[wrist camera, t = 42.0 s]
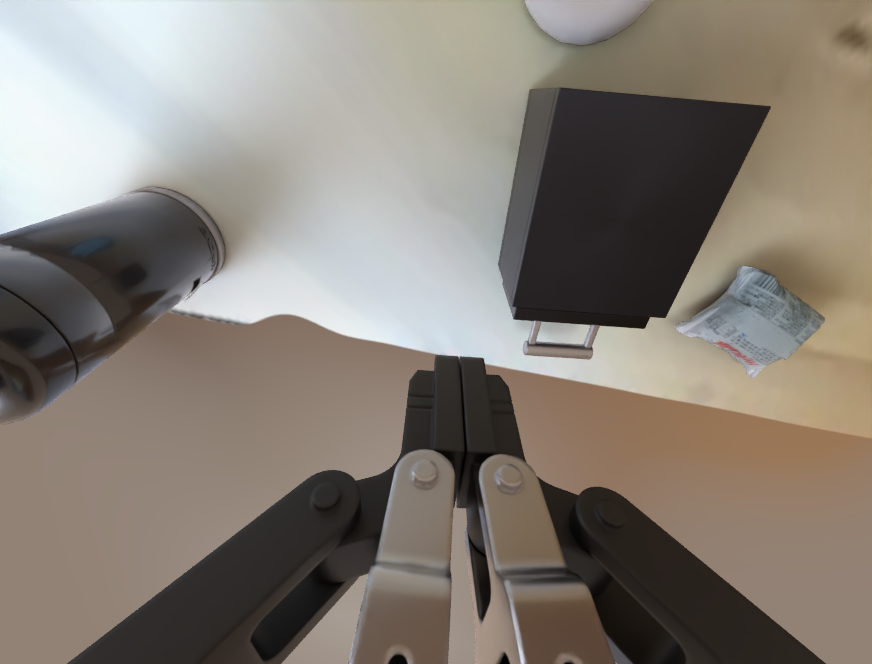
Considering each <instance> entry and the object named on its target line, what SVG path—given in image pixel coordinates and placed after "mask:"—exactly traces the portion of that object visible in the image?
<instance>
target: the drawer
mask: <svg viewBox="0 0 872 664" xmlns="http://www.w3.org/2000/svg"><path fill="white" fill-rule="evenodd" d="M503 287H504V290H505V294H506V297H507V300H508V303H509V306H510V309H511V313H512V316H513V319H514V320H529V321H533V323H532V327H531V331H530V335H529V338H528V341H525V342H524V345H523V353H524V355H533V356H547V357H562V358H577V359H591V358H592V355H593V348H592V344H593V342H594V339H595V337H596V334H597V331H598V329H599V326H613V327H627V328H641V329H645V327H646V325H647V323H648V321H649V318H650V317H644V316H630V315H617V314H603V313H589V312H575V311H561V310H547V309H533V308H519V307H512V305H511V302H510V299H509V296H508V293H507V290H506V287H505V284H504V281H503ZM541 321H543V322H557V323H571V324H585V325H590V328H589V331H588V334H587V336H586V339H585V342H584V345H580V344H565V343H551V342H537V341H536V339H537V335H538V331H539V328H540V324H541Z"/></svg>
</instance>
